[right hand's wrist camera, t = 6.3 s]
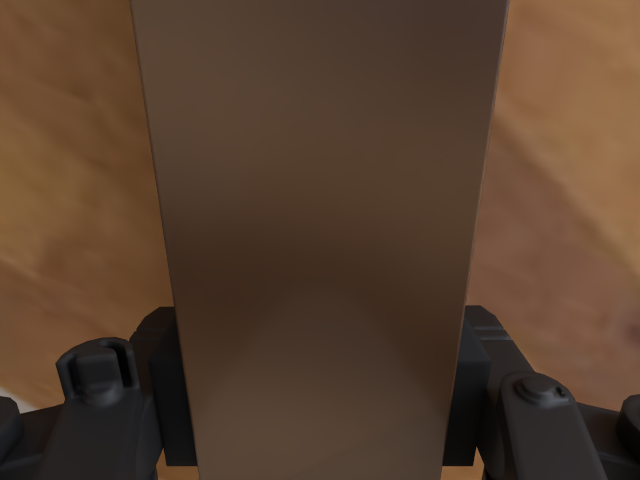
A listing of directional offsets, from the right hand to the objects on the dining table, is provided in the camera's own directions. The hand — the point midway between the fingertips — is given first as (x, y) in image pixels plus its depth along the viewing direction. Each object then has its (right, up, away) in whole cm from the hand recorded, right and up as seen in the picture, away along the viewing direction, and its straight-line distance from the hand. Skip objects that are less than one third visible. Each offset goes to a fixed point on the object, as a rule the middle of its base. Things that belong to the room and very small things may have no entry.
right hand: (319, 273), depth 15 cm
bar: (0, +26, -10) cm, 28 cm away
